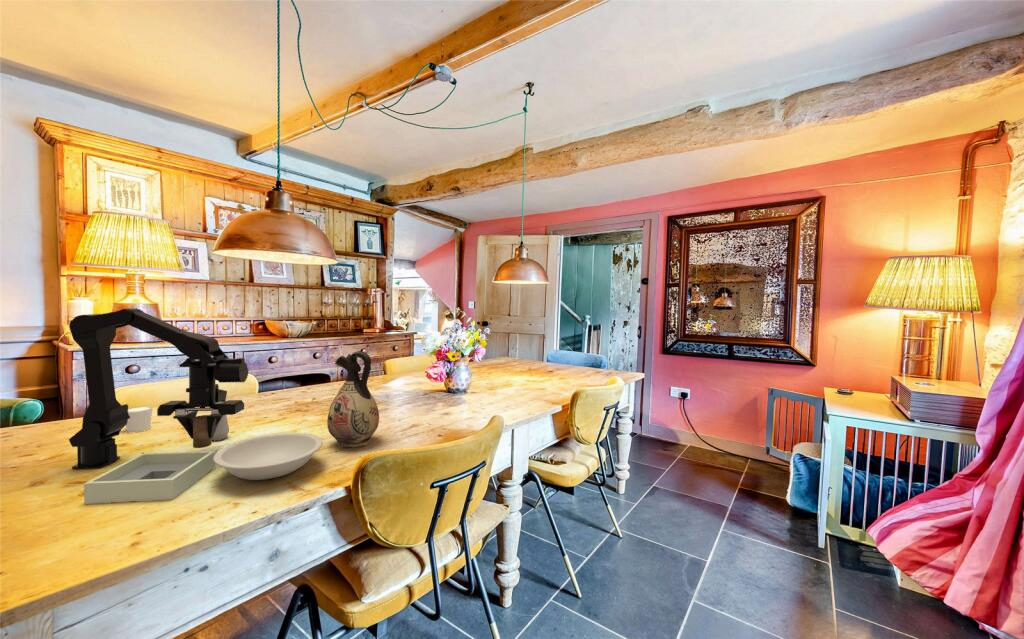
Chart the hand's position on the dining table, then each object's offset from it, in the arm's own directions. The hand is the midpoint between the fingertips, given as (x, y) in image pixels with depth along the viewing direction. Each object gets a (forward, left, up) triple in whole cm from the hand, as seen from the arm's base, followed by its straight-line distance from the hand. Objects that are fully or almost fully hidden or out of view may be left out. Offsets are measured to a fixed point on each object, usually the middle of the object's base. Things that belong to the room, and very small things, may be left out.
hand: (202, 438), depth 107 cm
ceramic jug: (+39, +8, -6) cm, 40 cm away
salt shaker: (-4, +16, -6) cm, 18 cm away
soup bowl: (+22, -11, -6) cm, 25 cm away
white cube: (-33, +27, -6) cm, 43 cm away
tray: (-2, -15, -6) cm, 16 cm away
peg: (0, 0, -2) cm, 2 cm away
